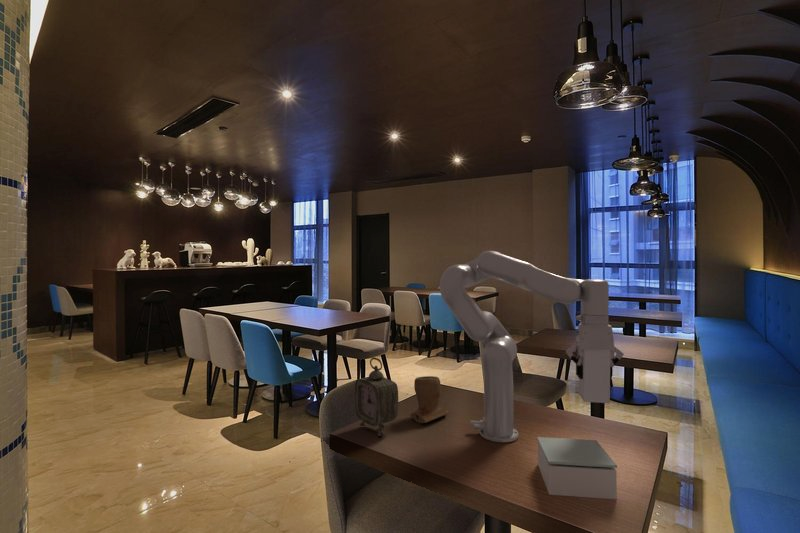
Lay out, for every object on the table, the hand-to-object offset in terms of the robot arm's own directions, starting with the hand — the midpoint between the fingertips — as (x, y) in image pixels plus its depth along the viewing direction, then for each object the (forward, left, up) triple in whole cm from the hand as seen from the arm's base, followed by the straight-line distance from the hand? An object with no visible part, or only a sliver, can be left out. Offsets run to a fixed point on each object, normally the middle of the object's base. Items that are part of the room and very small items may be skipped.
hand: (594, 378), depth 126 cm
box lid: (-11, -19, -15) cm, 26 cm away
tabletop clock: (-69, +7, -22) cm, 72 cm away
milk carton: (0, 0, -7) cm, 7 cm away
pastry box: (-11, -19, -22) cm, 31 cm away
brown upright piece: (-53, +21, -22) cm, 61 cm away
